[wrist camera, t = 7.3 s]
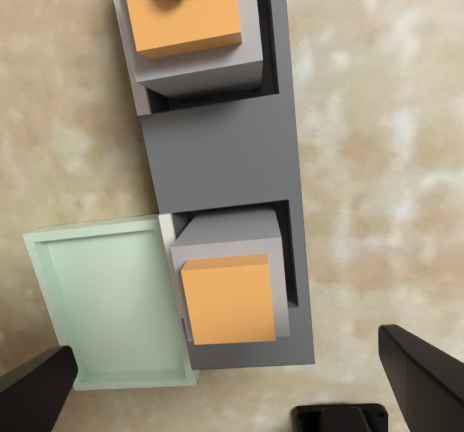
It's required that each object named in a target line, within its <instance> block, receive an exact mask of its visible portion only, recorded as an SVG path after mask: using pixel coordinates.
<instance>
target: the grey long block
mask: <svg viewBox="0 0 464 432" xmlns="http://www.w3.org/2000/svg"><path fill="white" fill-rule="evenodd" d="M113 1H114V5H115V10H116V15H117V20H118V25H119V29H120V34H121V39H122V44H123V49H124V53H125V58H126V63H127V68H128V73H129V77H130V82H131V87H132V92H133V97H134V101H135V106H136V111H137V116H139V117H140V122H141V127H142V132H143V137H144V141H145V146H146V151H147V156H148V161H149V166H150V170H151V175H152V180H153V185H154V190H155V195H156V199H157V204H158V209H159V214H160V215H158V217H159V221H160V226H161V231H162V236H163V241H164V245H165V250H166V255H167V260H168V265H169V269H170V274H171V279H172V284H173V289H174V293H175V298H176V303H177V308H178V313H179V317H180V318H181V320H182V325H183V330H184V335H185V340H186V345H187V349H188V354H189V359H190V364H191V369H192V370H205V369H225V368H245V367H266V366H286V365H306V364H315V359H314V346H313V333H312V320H311V308H310V295H309V282H308V270H307V257H306V244H305V231H304V219H303V206H302V193H301V181H300V168H299V155H298V142H297V130H296V117H295V104H294V91H293V79H292V66H291V53H290V41H289V28H288V15H287V2H286V0H257V6H258V16H259V26H260V36H261V46H262V56H263V66H262V79H261V91H255V92H249V93H243V94H237V95H230V96H224V97H218V98H212V99H206V100H200V101H194V102H187V103H178V102H176V101H174V100H172V99H170V98H168V97H166V96H164V95H162V94H160V93H157V92H155V91H153V90H151V89H149V88H147V87H145V86H143V85H141V84H139V83H137V82H136V80H135V75H134V70H133V65H132V60H131V55H130V50H129V46H128V41H127V36H126V31H125V26H124V21H123V16H122V11H121V6H120V1H119V0H113ZM272 203H273V206H274V210H275V213H276V217H277V221H278V225H279V229H280V233H281V238H282V249H283V260H284V272H285V283H286V295H287V306H288V317H289V329H290V336H282V337H276V341H261V342H241V343H221V344H201V345H195V344H194V341H188V337H187V332H186V327H185V322H184V316H183V311H182V306H181V301H180V295H179V290H178V285H177V280H176V275H175V269H174V264H173V259H172V254H171V248H170V247H171V246H172V244H173V243H174V242H175V241H176V240H177V238H178V237H179V236H180V235H181V233H182V232H183V231H184V230H185V228H186V227H187V226H188V225H189V223H190V222H191V221H192V220H193V219H194V217H195V216H196V215H197V214H198V212H199V211H205V210H215V209H224V208H234V207H243V206H253V205H263V204H272Z"/></svg>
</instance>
